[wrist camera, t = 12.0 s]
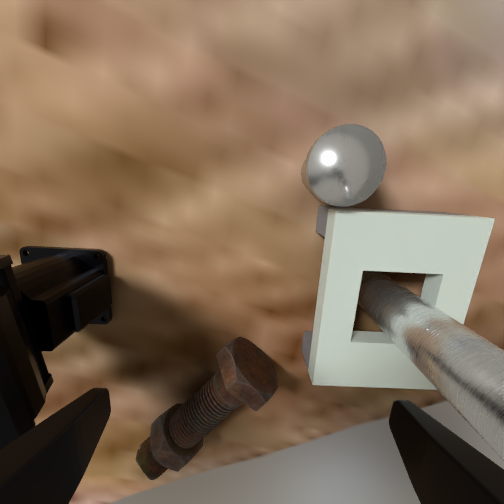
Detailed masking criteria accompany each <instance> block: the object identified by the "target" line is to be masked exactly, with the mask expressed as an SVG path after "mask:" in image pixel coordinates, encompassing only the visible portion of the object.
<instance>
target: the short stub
mask: <svg viewBox="0 0 504 504" xmlns="http://www.w3.org/2000/svg"><path fill="white" fill-rule="evenodd" d="M385 169H386V154H385V150H384V147H383V144H382V142H381V141H380V139H379V138H378V136H377V135H376V134H375V133H374V132H373V131H371V130H370V129H368V128H366V127H364V126H361V125H357V124H345V125H340V126H337V127H335V128H333V129H331V130H329V131H328V132H326V133H325V134H323V135H322V136H321V137H320V138H319V139H318V140H317V141H316V142H315V143H314V144H313V146H312V147H311V149H310V151H309V153H308V155H307V158H306V160H305V162H304V163H303V166H302V170H301V177H302V181H303V183H304V185H305V186H306V188H307V189H308V190H310V191H311V192H312V193H313V194H314V196H315V197H316V198H318V199H319V200H320V201H322V202H324V203H326V204H330V205H334V206H340V207H346V206H352V205H356V204H358V203H361V202H362V201H364V200H366V199H367V198H368V197H370V196H371V195H372V194H373V193H374V192H375V191H376V189H377V188H378V186H379V185H380V183H381V181H382V179H383V176H384V173H385Z"/></svg>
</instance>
